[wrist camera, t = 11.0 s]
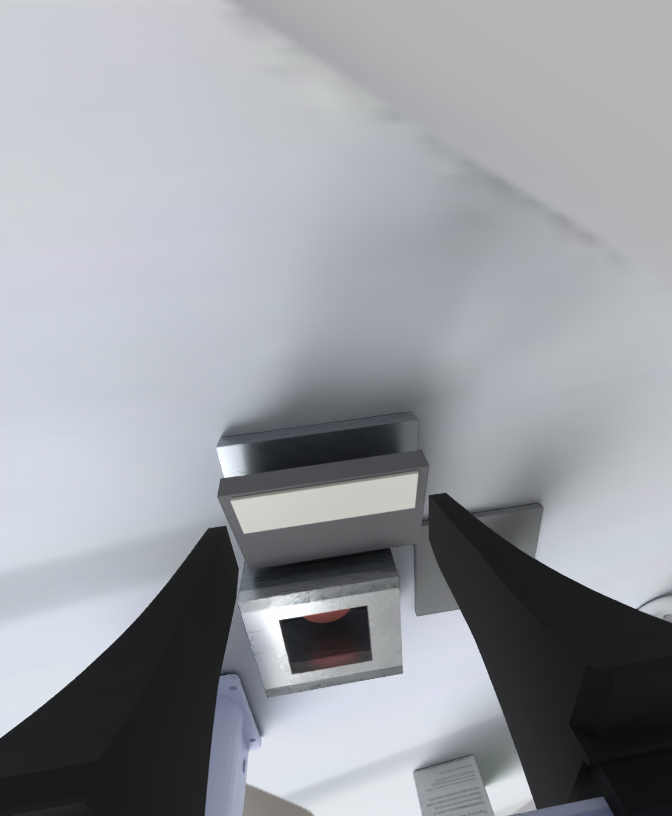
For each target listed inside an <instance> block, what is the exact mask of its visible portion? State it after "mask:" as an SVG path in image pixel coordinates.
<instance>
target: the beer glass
mask: <svg viewBox="0 0 672 816" xmlns="http://www.w3.org/2000/svg"><path fill="white" fill-rule="evenodd" d="M638 610H639V611H642V612H645V613H647V614H650V615H653V616H655V617H658V618H660V619H663V620H666V621H668V622H671V623H672V595H667V596H663V597H660V598H657V599H655V600H653V601H651V602H649V603H647V604H645V605H644V606H642V607H641V608H639V609H638Z"/></svg>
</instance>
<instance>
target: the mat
mask: <svg viewBox="0 0 672 816" xmlns="http://www.w3.org/2000/svg"><path fill="white" fill-rule="evenodd" d="M542 512H543V507H542V506H541V505H540V503H537V504H531V505H524V506H518V507H511V508H505V509H498V510H492V511H486V512H479V513H473V514H472V515H473V516H475V517H476V518H477V519H479V520H480V521H481V522H482V523H484V524H485V525H486V526H488V527H489V528H490V529H492V530H493V531H494V532H496V533H497V534H498V535H500V536H501V537H502V538H504V539H505V540H507V541H508V542H510V543H511V544H513V545H514V546H516V547H517V548H518V549H520V550H521V551H523V552H525V553H526V554H528V555H529V556H531V557H533V558H535V553H536V547H537V541H538V535H539V529H540V524H541V518H542ZM414 575H415V613H416V616H423V615H428V614H434V613H440V612H446V611H452V610H458V609H460V608H459V606H458V604H457V602H456V600H455V598H454V596H453V594H452V592H451V590H450V589H449V587H448V584H447V582H446V580H445V578H444V576H443V574H442V572H441V570H440V568H439V566H438V564H437V561H436V558H435V556H434V553H433V550H432V547H431V544H430V541H429V520H428V521H422V524H421V532H420V539H419V543H417V544H414Z"/></svg>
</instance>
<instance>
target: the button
mask: <svg viewBox="0 0 672 816" xmlns="http://www.w3.org/2000/svg"><path fill="white" fill-rule="evenodd" d="M349 609H350V608H348V609H342V610H336V611H330V612H324V613H318V614H312V615H306V616H303V617H304V618H305V619H307V620H309V621H312V622H316V623H327V622H332V621H335V620H337V619H339V618H341V617H343V616H344V615H345V614H346V613H347V612H348V611H349Z"/></svg>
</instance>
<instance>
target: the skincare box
mask: <svg viewBox="0 0 672 816" xmlns="http://www.w3.org/2000/svg"><path fill="white" fill-rule="evenodd" d="M413 776H414V781H415V785H416V790H417V795H418V799H419V804H420V809H421V813H422V816H494V813H493V810H492V807H491V804H490V801H489V798H488V795H487V792H486V789H485V786H484V783H483V781H482V778H481V775H480V772H479V769H478V766H477V763H476V761H475V758H474V756H473V755H470V756H467V757H464V758H460V759H457V760H453V761H450V762H446V763H442V764H439V765H435V766H432V767H428V768H425V769H421V770H417V771H414V772H413Z"/></svg>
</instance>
